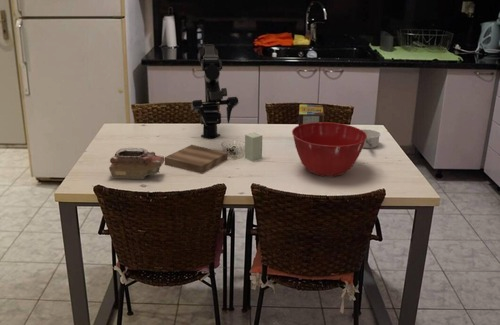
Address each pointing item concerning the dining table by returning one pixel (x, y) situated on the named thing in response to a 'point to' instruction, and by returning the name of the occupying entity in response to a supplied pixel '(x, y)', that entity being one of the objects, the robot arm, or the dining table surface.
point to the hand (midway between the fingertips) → (217, 124)
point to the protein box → (310, 114)
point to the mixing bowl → (328, 147)
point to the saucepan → (371, 138)
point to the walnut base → (196, 158)
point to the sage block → (253, 146)
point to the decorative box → (134, 163)
